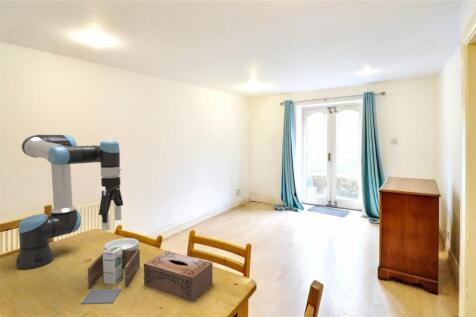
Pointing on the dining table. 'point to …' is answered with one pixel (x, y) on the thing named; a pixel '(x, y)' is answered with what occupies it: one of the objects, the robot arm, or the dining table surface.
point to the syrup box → (113, 265)
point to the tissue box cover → (178, 275)
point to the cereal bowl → (123, 244)
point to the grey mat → (101, 296)
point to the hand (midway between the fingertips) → (112, 224)
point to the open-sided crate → (129, 263)
